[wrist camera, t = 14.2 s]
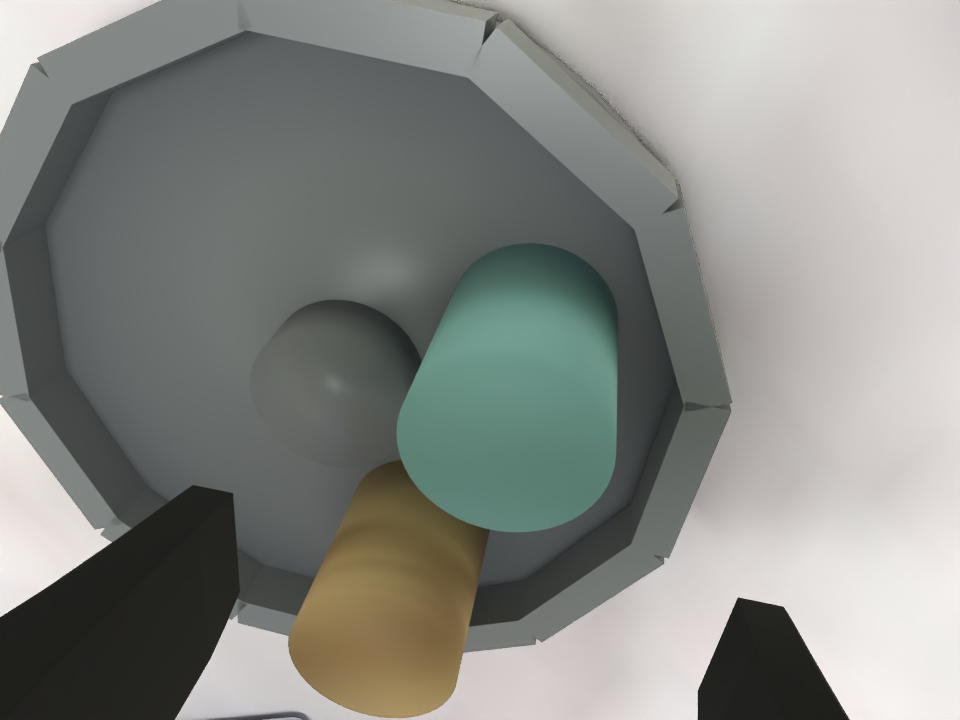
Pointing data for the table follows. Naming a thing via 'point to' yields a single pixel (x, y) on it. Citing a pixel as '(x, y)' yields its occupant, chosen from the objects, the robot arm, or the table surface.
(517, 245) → the teal cylinder
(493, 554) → the ring tray
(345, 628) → the tan wooden cylinder
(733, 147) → the table surface
